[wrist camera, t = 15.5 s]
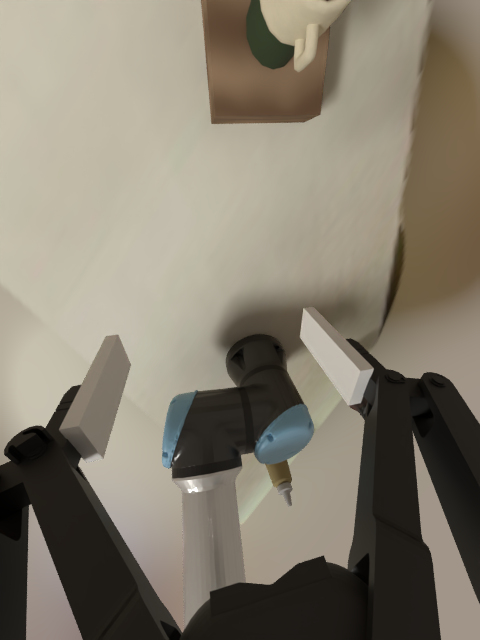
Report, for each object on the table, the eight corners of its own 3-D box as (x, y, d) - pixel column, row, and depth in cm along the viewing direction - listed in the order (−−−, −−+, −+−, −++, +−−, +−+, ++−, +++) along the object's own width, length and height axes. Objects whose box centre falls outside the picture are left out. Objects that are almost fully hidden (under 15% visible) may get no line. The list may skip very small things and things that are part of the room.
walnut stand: (303, 122, 34) (320, 114, 30) (211, 123, 32) (215, 115, 28) (317, -35, 26) (341, -74, 22) (197, -46, 24) (199, -91, 20)
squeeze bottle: (280, 450, 86) (300, 507, 71) (260, 454, 85) (276, 513, 70) (282, 438, 82) (304, 496, 67) (261, 442, 80) (278, 503, 65)
